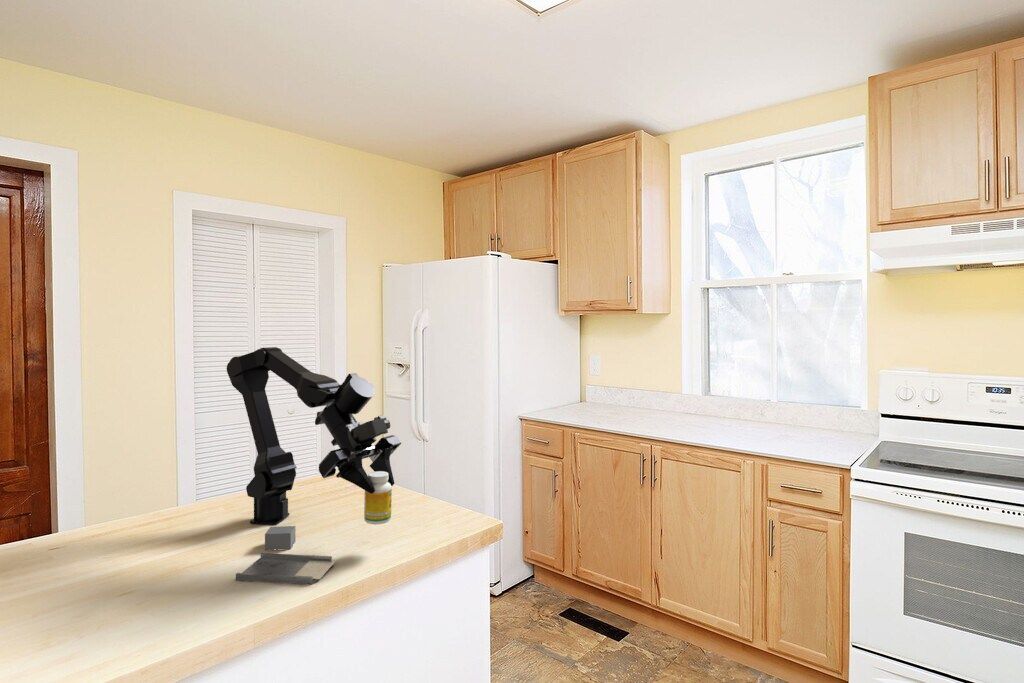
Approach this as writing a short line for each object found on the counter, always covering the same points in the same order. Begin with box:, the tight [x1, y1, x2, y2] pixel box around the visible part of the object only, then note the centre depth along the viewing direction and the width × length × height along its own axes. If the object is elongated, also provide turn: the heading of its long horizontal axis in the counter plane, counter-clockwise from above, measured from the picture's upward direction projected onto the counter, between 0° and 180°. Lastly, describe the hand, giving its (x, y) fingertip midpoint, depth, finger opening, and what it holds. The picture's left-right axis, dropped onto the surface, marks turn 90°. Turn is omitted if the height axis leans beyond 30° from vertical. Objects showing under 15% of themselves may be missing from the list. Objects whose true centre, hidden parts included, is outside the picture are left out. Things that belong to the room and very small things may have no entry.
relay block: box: [264, 525, 297, 551], centre depth 115 cm, size 5×4×4 cm
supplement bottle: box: [363, 471, 393, 526], centre depth 113 cm, size 5×5×10 cm
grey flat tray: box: [235, 552, 336, 585], centre depth 104 cm, size 15×9×1 cm, turn 86°
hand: (383, 488), depth 113 cm, fingers closed on supplement bottle, 5 cm apart
